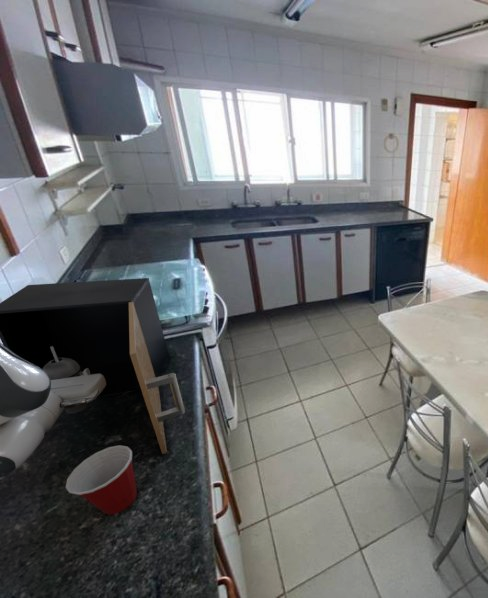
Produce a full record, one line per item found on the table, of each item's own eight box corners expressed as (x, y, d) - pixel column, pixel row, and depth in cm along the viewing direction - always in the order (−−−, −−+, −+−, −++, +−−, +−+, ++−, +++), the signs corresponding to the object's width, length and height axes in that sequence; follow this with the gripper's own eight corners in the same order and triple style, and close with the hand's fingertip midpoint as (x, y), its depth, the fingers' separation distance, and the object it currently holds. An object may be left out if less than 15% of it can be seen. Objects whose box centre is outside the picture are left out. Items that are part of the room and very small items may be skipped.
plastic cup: (97, 489, 75) (76, 454, 70) (154, 473, 79) (137, 438, 74) (79, 537, 66) (53, 501, 61) (143, 516, 70) (124, 480, 65)
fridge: (157, 388, 106) (131, 300, 93) (35, 408, 95) (-14, 311, 82) (169, 357, 121) (148, 277, 108) (65, 371, 110) (27, 284, 97)
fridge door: (180, 383, 109) (158, 297, 96) (193, 444, 88) (167, 345, 75) (155, 390, 105) (128, 302, 92) (163, 456, 84) (129, 354, 71)
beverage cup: (88, 394, 93) (63, 334, 85) (100, 405, 90) (75, 343, 82) (54, 409, 87) (23, 346, 79) (64, 421, 84) (34, 357, 76)
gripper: (89, 390, 76) (111, 357, 88) (-36, 409, 68) (6, 370, 80) (97, 411, 79) (117, 376, 90) (-22, 431, 71) (17, 390, 83)
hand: (64, 373), depth 85 cm, fingers closed on beverage cup, 7 cm apart
